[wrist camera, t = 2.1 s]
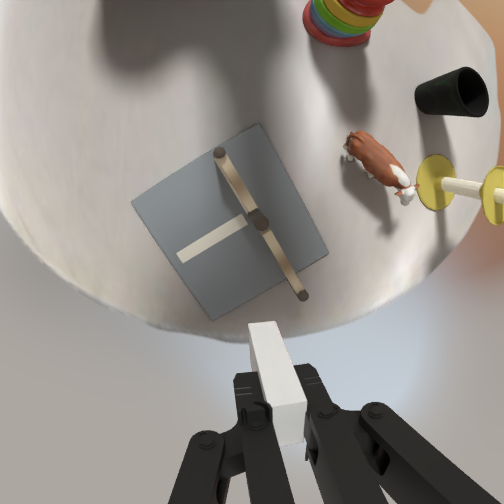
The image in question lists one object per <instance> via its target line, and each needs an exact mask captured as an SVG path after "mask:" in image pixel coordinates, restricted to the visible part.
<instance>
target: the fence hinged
mask: <svg viewBox="0 0 504 504" xmlns="http://www.w3.org/2000/svg"><path fill="white" fill-rule="evenodd" d="M260 233H261V235H262V236H263V238H264V240H265V241H266V243H267V245H268V247H269V248H270V250H271V252H272V253H273V255H274V257H275V259H276V260H277V262H278V264H279V266H280V267H281V269H282V271H283V272H284V274H285V276H286V278H287V281H288V282H289V284H290V286H291V287H292V289H293V290H294V292H295V294H296V295H297V297H298V299H299V300H300V301H306V300H307V299H308V297H309V295H308V293H307V292H306V290H305V289H304V287H303V286H302V284H301V282H300V281H299V279H298V277H297V275H296V273H295V272H294V270H293V268H292V266H291V264H290V263H289V261H288V259H287V257H286V256H285V254H284V252H283V250H282V249H281V247H280V245H279V243H278V242H277V240H276V238H275V236H274V234H273V233H272V231H271V230H270V228H269V227H268V229H267V230H265V231H260Z"/></svg>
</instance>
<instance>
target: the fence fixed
mask: <svg viewBox="0 0 504 504" xmlns="http://www.w3.org/2000/svg"><path fill="white" fill-rule="evenodd" d="M213 155H214V157H215V158H217V161H218V162H219V164H220V166H221V167H222V169H223V171H224V172H225V174H226V176H227V177H228V179H229V181H230V182H231V184H232V186H233V187H234V189H235V191H236V192H237V194H238V196H239V197H240V199H241V201H242V203H243V204H244V206H245V207H246V209H247V210H248V217H249V218H250V220H251V222H252V223H253V225H254V226H255V228H256V229H257V230H259V231H265V230H267V229H268V227H269V220H268V219H267V218H266V217H265V215H264V214H263V213H262V212H261V211H260V210H259V209H258V208H257V205H256V204H255V202H254V200H253V198H252V197H251V195H250V193H249V192H248V190H247V188H246V186H245V185H244V183H243V181H242V180H241V178H240V176H239V175H238V173H237V171H236V170H235V168H234V166H233V164H232V163H231V161H230V159H229V158H228V156H227V154H226V151H225V149H224V148H223V147H217V148H215V150H214V152H213Z"/></svg>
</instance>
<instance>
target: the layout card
mask: <svg viewBox="0 0 504 504" xmlns="http://www.w3.org/2000/svg"><path fill="white" fill-rule="evenodd" d="M217 147H223V148H224V149H225V151H226V154H227V156H228V158H229V159H230V161H231V163H232V164H233V166H234V168H235V170H236V171H237V173H238V175H239V176H240V178H241V180H242V181H243V183H244V185H245V186H246V188H247V190H248V192H249V193H250V195H251V197H252V198H253V200H254V202H255V204H256V205H257V208H258V209H259V210H260V211H261V212H262V213H263V214H264V215H265V217H266V218H267V219H268V220H269V228H270V230H271V231H272V233H273V234H274V236H275V238H276V240H277V242H278V243H279V245H280V247H281V249H282V250H283V252H284V254H285V256H286V257H287V259H288V261H289V263H290V264H291V266H292V268H293V270H294V272H295V273H297V272H298V271H300V270H302V269H303V268H305V267H307V266H308V265H310V264H312V263H313V262H315V261H317V260H318V259H320V258H322V257H323V256H325V255H326V254H328V253H329V252H328V250H327V248H326V246H325V244H324V242H323V240H322V238H321V236H320V234H319V232H318V230H317V228H316V226H315V224H314V222H313V220H312V218H311V216H310V214H309V212H308V210H307V209H306V207H305V205H304V203H303V201H302V199H301V197H300V195H299V193H298V192H297V190H296V188H295V186H294V184H293V182H292V180H291V179H290V177H289V175H288V173H287V171H286V169H285V168H284V166H283V164H282V162H281V160H280V159H279V157H278V155H277V153H276V152H275V150H274V148H273V146H272V145H271V143H270V141H269V139H268V138H267V136H266V134H265V132H264V131H263V129H262V127H261V126H260V124H259V123H258V124H257V125H255V126H253V127H251V128H249V129H247V130H246V131H244V132H242V133H240V134H238V135H237V136H235V137H233V138H231V139H229V140H228V141H226V142H224V143H222V144H221V145H219V146H217ZM217 147H216V148H217ZM214 150H215V148H214V149H212V150H210V151H209V152H207V153H205V154H204V155H202V156H200V157H199V158H197V159H195V160H194V161H192V162H191V163H189V164H187V165H186V166H184V167H183V168H181V169H179V170H178V171H176V172H175V173H173V174H171V175H170V176H168V177H167V178H165V179H164V180H162V181H161V182H159V183H158V184H156V185H155V186H153V187H152V188H150V189H149V190H147V191H146V192H144V193H143V194H141V195H140V196H138V197H137V198H135V199H134V200H133V201H131V203H132V205H133V207H134V208H135V210H136V211H137V213H138V214H139V216H140V217H141V219H142V221H143V222H144V224H145V225H146V227H147V228H148V230H149V231H150V233H151V234H152V236H153V237H154V239H155V240H156V242H157V243H158V245H159V246H160V248H161V249H162V251H163V252H164V254H165V255H166V257H167V258H168V260H169V261H170V263H171V264H172V265H173V267H174V268H175V270H176V271H177V273H178V274H179V276H180V277H181V278H182V280H183V281H184V283H185V284H186V285H187V287H188V288H189V290H190V291H191V293H192V294H193V295H194V297H195V298H196V299H197V301H198V302H199V304H200V305H201V306H202V308H203V309H204V310H205V312H206V313H207V315H208V316H209V317H210V319H211V320H212V321H213V320H215V319H217V318H219V317H220V316H222V315H224V314H226V313H228V312H229V311H231V310H233V309H235V308H236V307H238V306H240V305H242V304H243V303H245V302H247V301H249V300H250V299H252V298H254V297H256V296H257V295H259V294H261V293H263V292H264V291H266V290H268V289H269V288H271V287H273V286H275V285H276V284H278V283H280V282H281V281H283V280H285V279H286V276H285V274H284V272H283V271H282V269H281V267H280V266H279V264H278V262H277V260H276V259H275V257H274V255H273V253H272V252H271V250H270V248H269V247H268V245H267V243H266V241H265V240H264V238H263V236H262V235H261V233H260V231H259V230H257V229H256V228H255V226H254V225H253V223H252V222H251V220H250V218H249V217H248V210H247V209H246V207H245V206H244V204H243V203H242V201H241V199H240V197H239V196H238V194H237V192H236V191H235V189H234V187H233V186H232V184H231V182H230V181H229V179H228V177H227V176H226V174H225V172H224V171H223V169H222V167H221V166H220V164H219V162H218V161H217V158H215V157H214V155H213V152H214Z"/></svg>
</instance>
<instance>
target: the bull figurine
mask: <svg viewBox="0 0 504 504" xmlns="http://www.w3.org/2000/svg"><path fill="white" fill-rule="evenodd" d="M349 141H351V142H350V144H348V143H349ZM343 148H344V149H347V151H348V153H347V154H346V156H347V157H348V158H347V159H348V161H350V162H351V161H353V160H354V159H353V155H354V156H355V157H356V158H357V159H358V160H360V161H362V164H363V166H364V168H365V169H366V170H367V171H368V172H369V173H367V174H368V178H369V179H372V178H373V177H374V178H375V179H377V180H378V181H379V182H381V183H382V184H384V185H385V186H389V187H391V186H394V187H395V188H396V189H397V190H398V192H397V193H395V195H397V196H399V197H400V199H401V201H400V202H401V204H402V205H404V206H406V205H408V204H409V202H410V201H411V200H413V198H414V195H415V190H417V189H418V188H419V187H420V184H416V185H414V186H411V183H410V179H409V177H408V176H407V174H406V173H405V171H404V169H403V167H402V166H401V164H400V163H399V162H398V161H397V160H396V159H395V157H394V156H393V155H392V154H391V153H390V152H389V151H388V150H387V149H386V148H385V147H384V146H383V145H381V144H379V143H378V142H377V141H376V140H375V139H374V138H373V137H372V136H371V135H369V134H368V133H366V132H364V131H361V130H360V131H357V132H356V133H353V132H350V133H348V134H347V141H346V143H345V144H344V145H343Z"/></svg>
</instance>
